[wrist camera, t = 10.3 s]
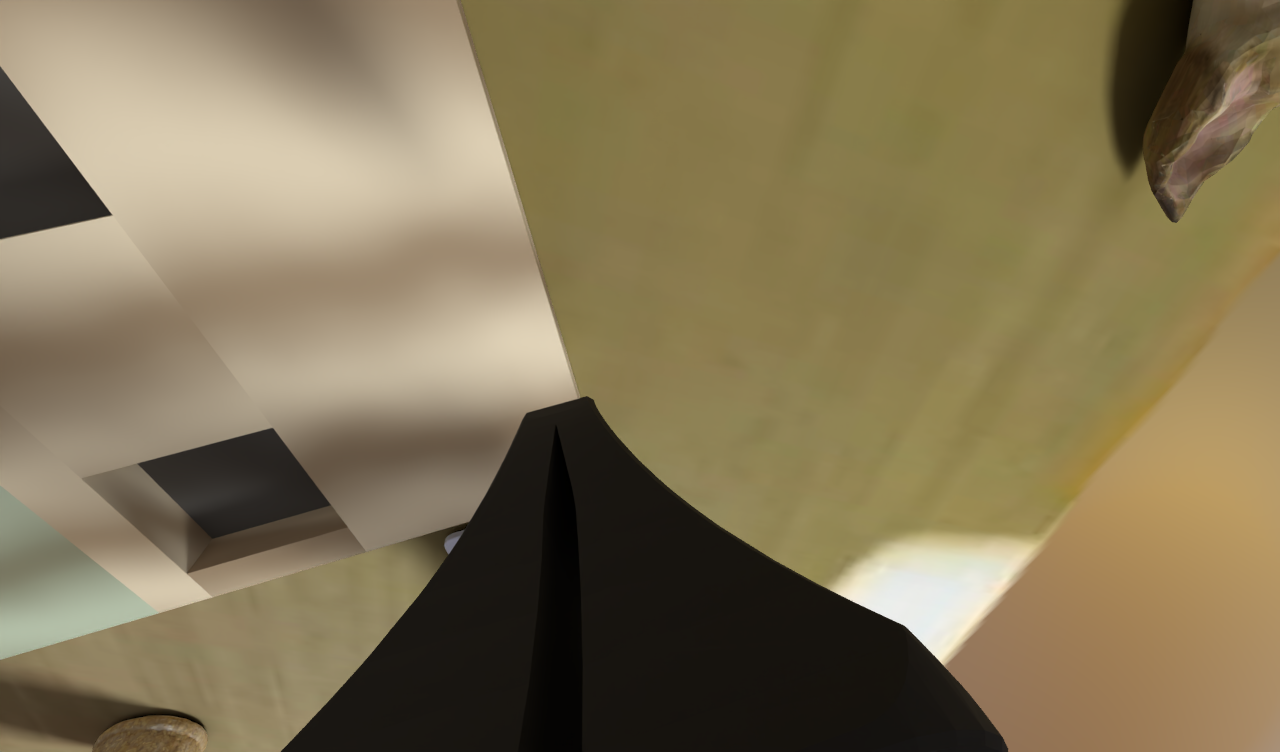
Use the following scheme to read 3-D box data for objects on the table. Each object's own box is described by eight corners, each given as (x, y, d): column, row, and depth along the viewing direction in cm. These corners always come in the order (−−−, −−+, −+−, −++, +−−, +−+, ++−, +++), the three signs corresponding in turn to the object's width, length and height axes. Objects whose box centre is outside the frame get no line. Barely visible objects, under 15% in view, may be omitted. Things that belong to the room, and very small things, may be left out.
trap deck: (597, 453, 22) (611, 516, 18) (-14, 628, 19) (-131, 740, 16) (410, -168, 11) (360, -292, 8) (-971, 42, 9) (-1931, -8, 5)
